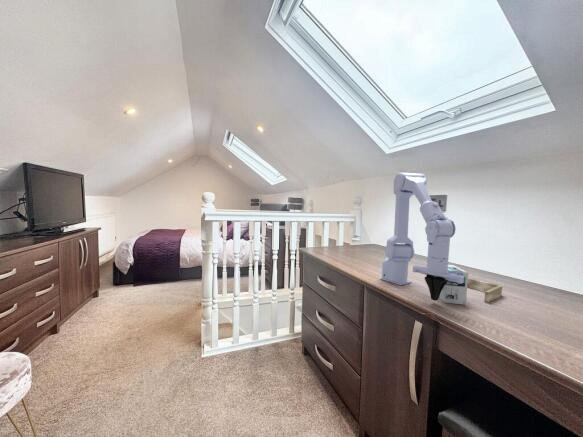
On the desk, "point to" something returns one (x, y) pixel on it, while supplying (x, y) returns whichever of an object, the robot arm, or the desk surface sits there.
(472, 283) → the wooden frame
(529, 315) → the desk surface
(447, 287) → the light bulb box
